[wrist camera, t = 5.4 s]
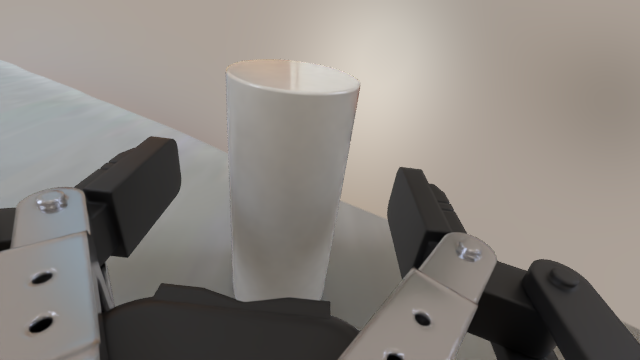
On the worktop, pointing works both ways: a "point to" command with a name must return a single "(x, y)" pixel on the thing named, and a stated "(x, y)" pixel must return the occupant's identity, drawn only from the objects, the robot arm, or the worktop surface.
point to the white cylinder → (285, 173)
